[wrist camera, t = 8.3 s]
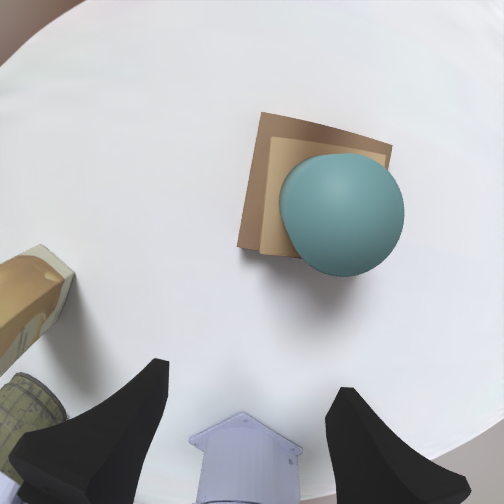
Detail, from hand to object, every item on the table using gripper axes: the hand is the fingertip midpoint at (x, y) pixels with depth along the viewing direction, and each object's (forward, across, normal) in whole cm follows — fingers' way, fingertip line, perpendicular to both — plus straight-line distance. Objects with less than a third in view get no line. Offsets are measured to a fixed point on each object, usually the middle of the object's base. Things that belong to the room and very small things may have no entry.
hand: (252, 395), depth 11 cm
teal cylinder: (+6, -2, -8) cm, 10 cm away
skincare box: (+10, +17, +3) cm, 20 cm away
